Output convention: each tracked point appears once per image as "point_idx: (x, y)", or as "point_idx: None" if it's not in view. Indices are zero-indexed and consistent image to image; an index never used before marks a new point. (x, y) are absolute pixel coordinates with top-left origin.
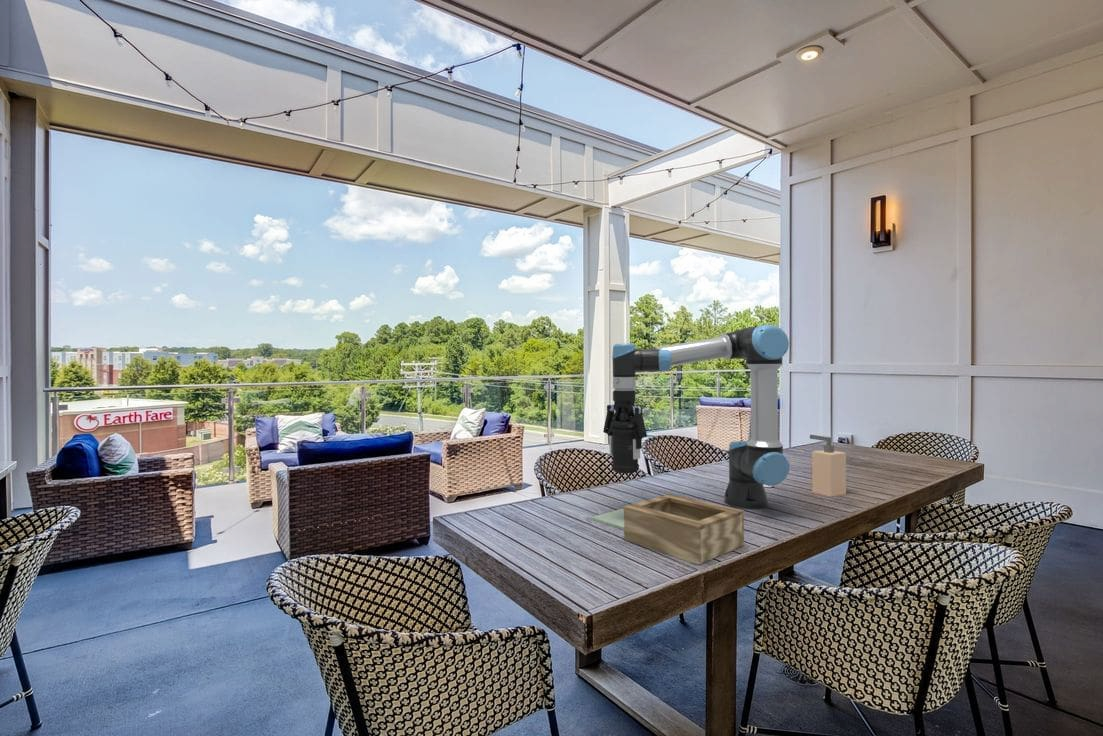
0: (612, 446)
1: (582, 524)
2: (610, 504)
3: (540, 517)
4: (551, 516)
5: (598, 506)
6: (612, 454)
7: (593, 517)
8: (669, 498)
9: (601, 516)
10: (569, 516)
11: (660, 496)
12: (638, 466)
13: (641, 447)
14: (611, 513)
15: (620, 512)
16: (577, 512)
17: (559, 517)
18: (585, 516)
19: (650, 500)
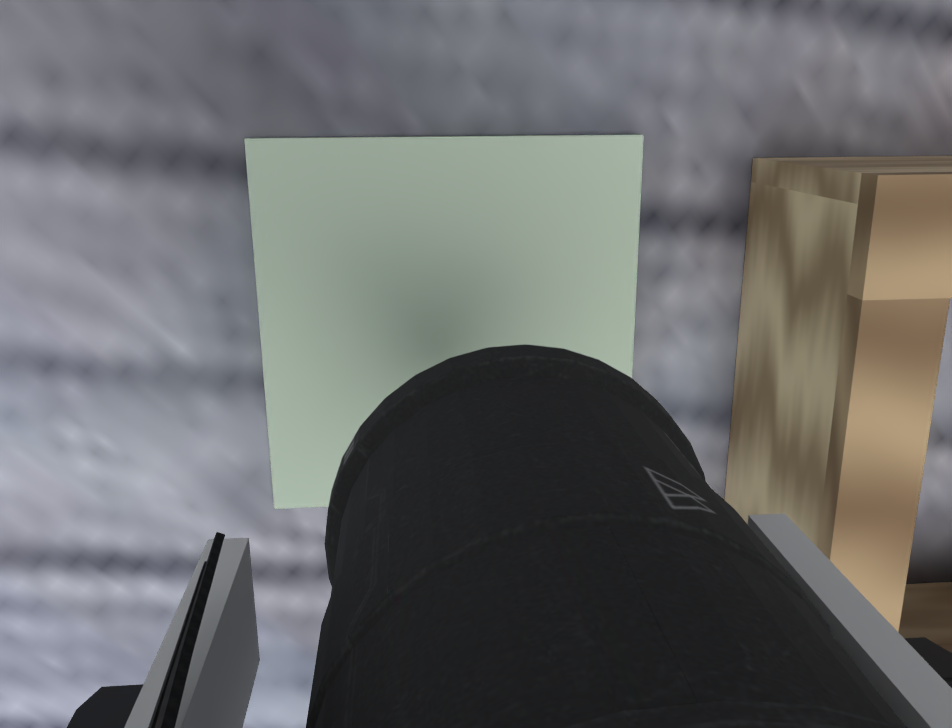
0: None
1: (322, 610)
2: (14, 77)
3: (7, 722)
4: (32, 657)
5: (6, 212)
6: (255, 633)
7: (289, 503)
8: (944, 300)
9: (309, 444)
10: (111, 567)
11: (861, 327)
12: (692, 453)
13: (949, 657)
14: (297, 332)
15: (322, 257)
16: (56, 461)
17: (88, 631)
18: (184, 482)
19: (865, 494)
